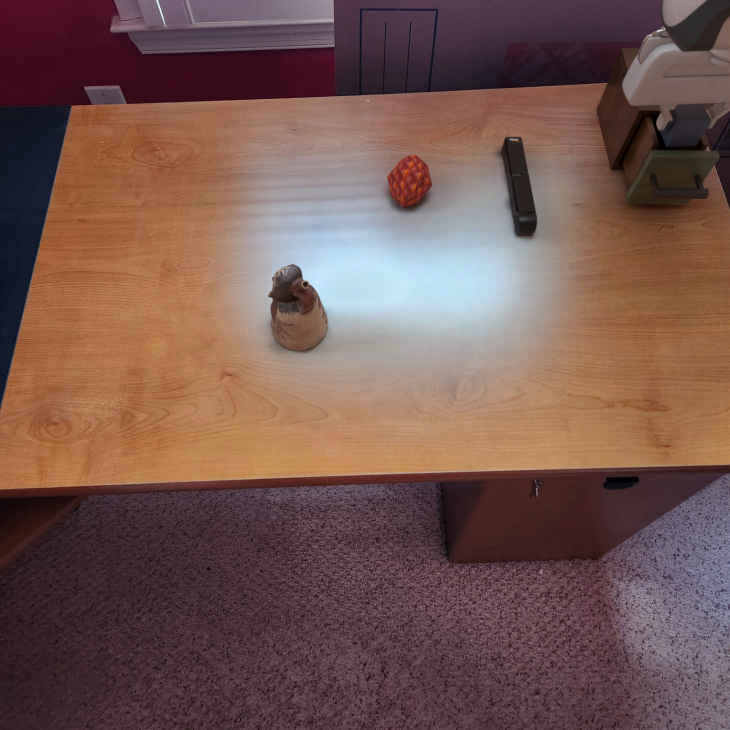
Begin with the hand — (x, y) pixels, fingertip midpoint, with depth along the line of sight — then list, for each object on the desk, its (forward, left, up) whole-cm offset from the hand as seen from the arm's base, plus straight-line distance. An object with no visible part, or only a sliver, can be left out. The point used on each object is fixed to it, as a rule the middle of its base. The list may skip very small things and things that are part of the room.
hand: (682, 126), depth 77 cm
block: (0, 0, -2) cm, 2 cm away
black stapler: (+18, +7, -11) cm, 23 cm away
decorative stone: (+33, +13, -11) cm, 38 cm away
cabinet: (+3, -10, -11) cm, 15 cm away
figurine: (+39, +40, -11) cm, 57 cm away
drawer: (0, 0, -10) cm, 10 cm away
